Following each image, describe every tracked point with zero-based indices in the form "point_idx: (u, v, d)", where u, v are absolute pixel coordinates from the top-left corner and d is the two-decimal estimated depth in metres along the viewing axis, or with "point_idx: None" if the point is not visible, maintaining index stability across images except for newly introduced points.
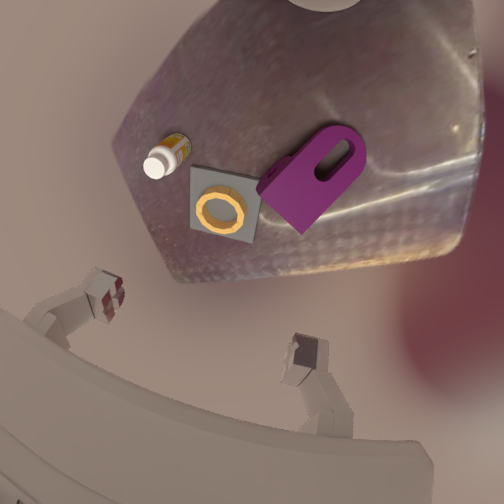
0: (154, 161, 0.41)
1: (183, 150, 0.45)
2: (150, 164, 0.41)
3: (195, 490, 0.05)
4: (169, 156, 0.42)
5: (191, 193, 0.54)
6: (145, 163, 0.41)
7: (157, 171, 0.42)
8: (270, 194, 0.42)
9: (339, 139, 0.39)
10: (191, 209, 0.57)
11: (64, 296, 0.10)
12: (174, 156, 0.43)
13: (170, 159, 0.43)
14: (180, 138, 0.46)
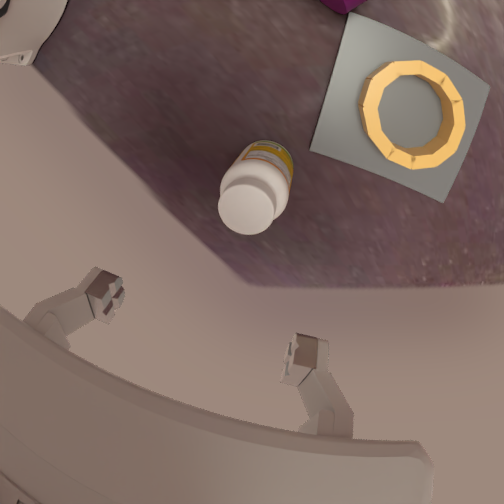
0: (226, 201, 0.19)
1: (256, 148, 0.23)
2: (234, 215, 0.20)
3: (195, 490, 0.05)
4: (237, 171, 0.20)
5: (370, 168, 0.24)
6: (232, 226, 0.20)
7: (252, 202, 0.19)
8: None
9: None
10: (405, 182, 0.24)
11: (64, 296, 0.10)
12: (243, 161, 0.20)
13: (245, 170, 0.20)
14: None
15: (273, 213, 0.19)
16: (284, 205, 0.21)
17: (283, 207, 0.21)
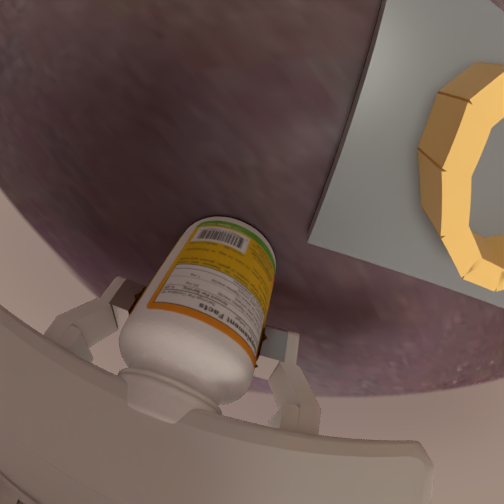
0: None
1: (191, 256, 0.11)
2: None
3: (195, 490, 0.05)
4: (136, 341, 0.08)
5: (419, 273, 0.12)
6: None
7: None
8: None
9: None
10: (469, 290, 0.12)
11: (87, 308, 0.10)
12: (148, 316, 0.09)
13: (148, 343, 0.08)
14: (174, 246, 0.13)
15: None
16: (243, 394, 0.10)
17: (241, 396, 0.10)
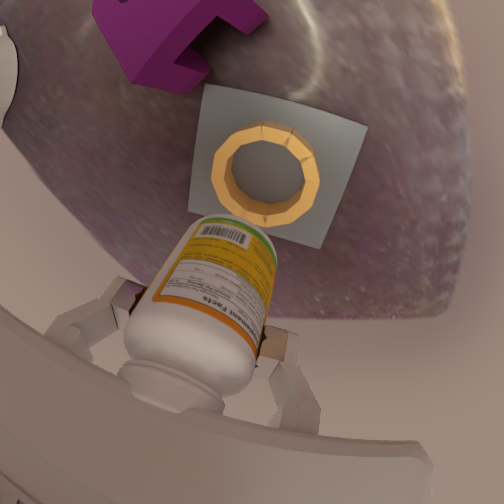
0: None
1: (195, 251, 0.11)
2: None
3: (195, 490, 0.05)
4: (141, 333, 0.09)
5: None
6: None
7: None
8: (134, 61, 0.15)
9: None
10: (275, 233, 0.30)
11: (87, 308, 0.10)
12: (153, 309, 0.09)
13: (153, 335, 0.09)
14: None
15: None
16: (245, 386, 0.10)
17: (243, 388, 0.10)
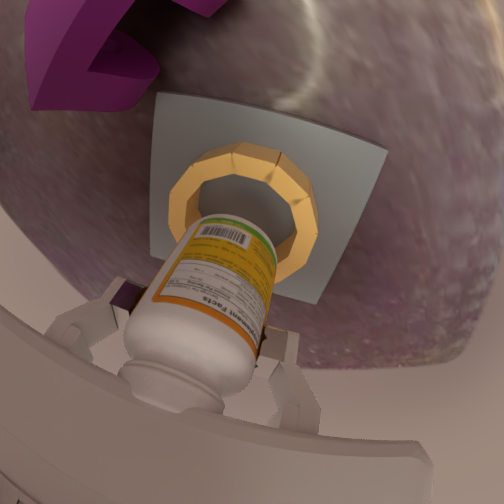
0: None
1: (195, 251, 0.11)
2: None
3: (195, 490, 0.05)
4: (140, 333, 0.09)
5: None
6: None
7: None
8: (36, 76, 0.08)
9: None
10: None
11: (87, 308, 0.10)
12: (153, 309, 0.09)
13: (153, 335, 0.09)
14: (177, 243, 0.13)
15: None
16: (245, 386, 0.10)
17: (243, 388, 0.10)
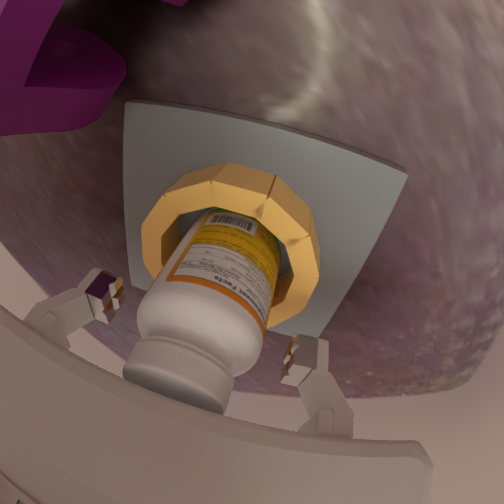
0: (135, 379, 0.09)
1: (205, 237, 0.12)
2: None
3: (195, 490, 0.05)
4: (155, 311, 0.10)
5: None
6: None
7: (180, 392, 0.08)
8: None
9: None
10: None
11: (64, 296, 0.10)
12: (167, 288, 0.10)
13: (167, 312, 0.09)
14: None
15: (223, 408, 0.09)
16: (253, 363, 0.11)
17: (251, 366, 0.11)
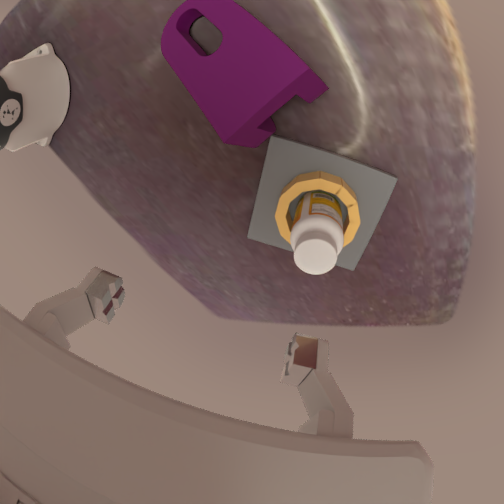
0: (301, 250, 0.25)
1: (317, 201, 0.29)
2: (306, 260, 0.25)
3: (195, 490, 0.05)
4: (307, 224, 0.26)
5: (290, 249, 0.37)
6: (303, 268, 0.26)
7: (322, 252, 0.25)
8: (225, 123, 0.22)
9: (175, 31, 0.22)
10: None
11: (64, 296, 0.10)
12: (312, 216, 0.26)
13: (313, 224, 0.26)
14: (301, 201, 0.31)
15: (336, 260, 0.25)
16: (340, 250, 0.27)
17: (339, 252, 0.27)
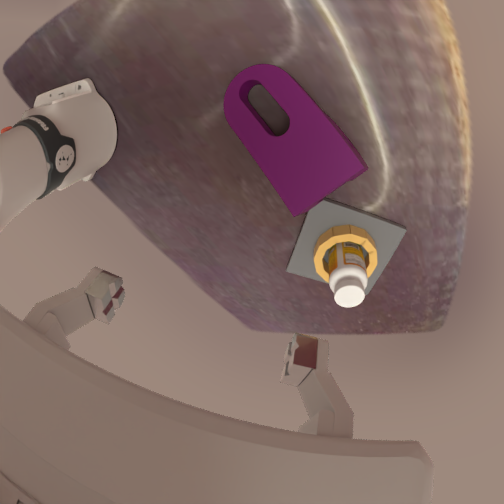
0: (340, 292, 0.34)
1: (348, 251, 0.37)
2: (343, 298, 0.34)
3: (195, 490, 0.05)
4: (344, 272, 0.35)
5: (320, 280, 0.46)
6: (340, 303, 0.35)
7: (354, 293, 0.34)
8: (294, 201, 0.30)
9: (239, 100, 0.30)
10: None
11: (64, 296, 0.10)
12: (347, 266, 0.35)
13: (348, 272, 0.35)
14: (335, 248, 0.40)
15: (363, 298, 0.34)
16: (364, 288, 0.36)
17: (364, 289, 0.36)
